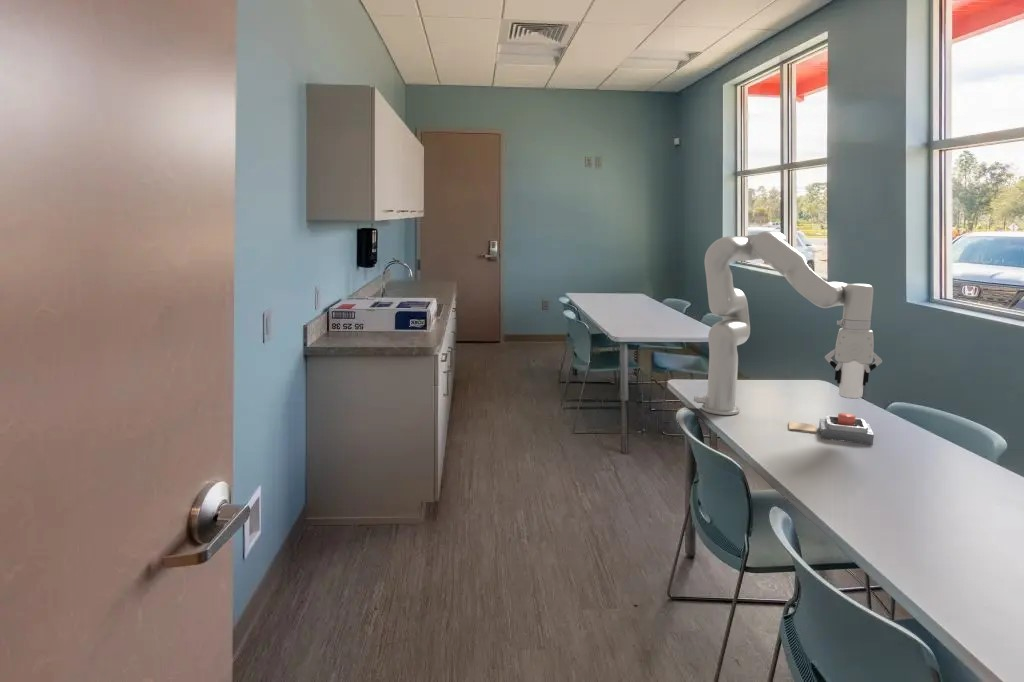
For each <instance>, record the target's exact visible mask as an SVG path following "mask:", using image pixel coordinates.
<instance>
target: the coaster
mask: <svg viewBox="0 0 1024 682" xmlns="http://www.w3.org/2000/svg"><path fill="white" fill-rule="evenodd" d="M791 430H792V432H802V433H803V432H804V433H809V432H811V433H810V434H817V432H818V429H817V424H813V423H806V422H805V423H804V422H794V421H788V431H791Z"/></svg>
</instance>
